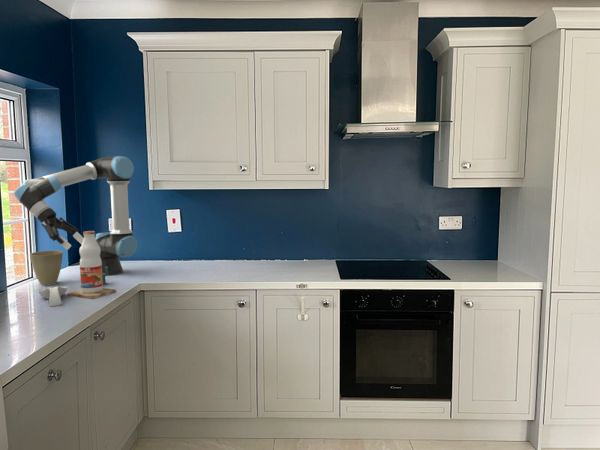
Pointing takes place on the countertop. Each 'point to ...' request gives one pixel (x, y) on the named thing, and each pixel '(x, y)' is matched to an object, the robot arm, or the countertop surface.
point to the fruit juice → (90, 264)
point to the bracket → (105, 275)
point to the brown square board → (91, 295)
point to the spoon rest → (53, 295)
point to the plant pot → (47, 266)
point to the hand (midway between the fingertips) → (77, 245)
